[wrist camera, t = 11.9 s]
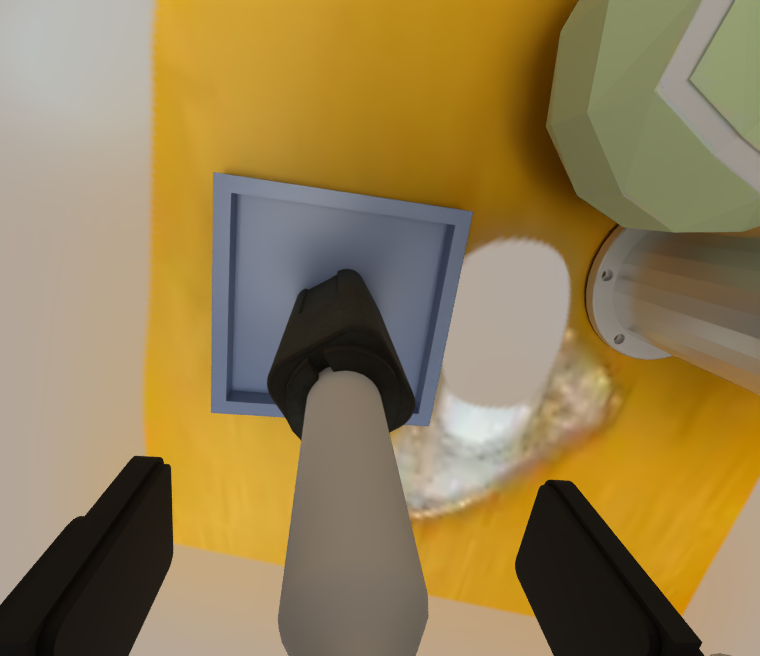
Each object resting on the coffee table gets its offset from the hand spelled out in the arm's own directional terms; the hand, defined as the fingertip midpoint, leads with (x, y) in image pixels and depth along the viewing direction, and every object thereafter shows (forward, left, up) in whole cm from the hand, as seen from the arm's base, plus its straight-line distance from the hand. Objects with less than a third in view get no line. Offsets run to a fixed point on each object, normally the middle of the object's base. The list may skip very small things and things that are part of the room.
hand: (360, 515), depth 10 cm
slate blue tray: (0, 0, -20) cm, 20 cm away
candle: (0, 0, -19) cm, 19 cm away
